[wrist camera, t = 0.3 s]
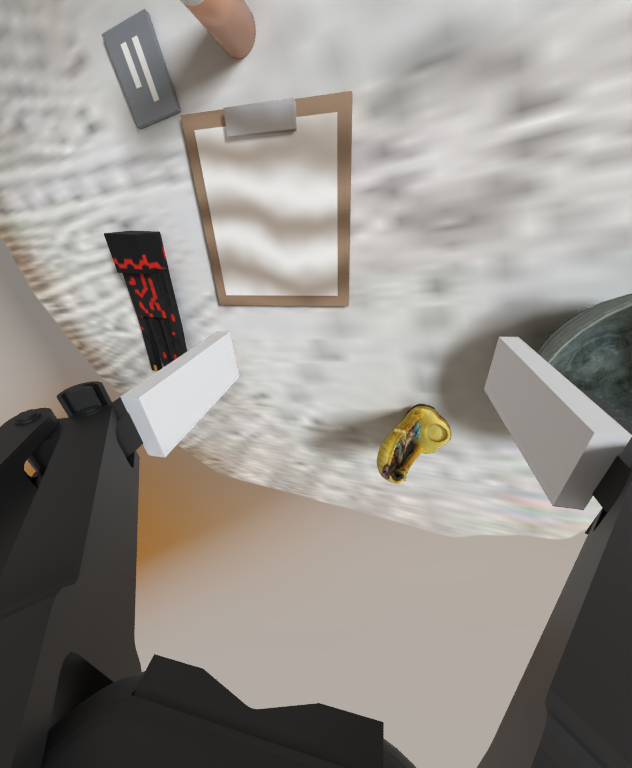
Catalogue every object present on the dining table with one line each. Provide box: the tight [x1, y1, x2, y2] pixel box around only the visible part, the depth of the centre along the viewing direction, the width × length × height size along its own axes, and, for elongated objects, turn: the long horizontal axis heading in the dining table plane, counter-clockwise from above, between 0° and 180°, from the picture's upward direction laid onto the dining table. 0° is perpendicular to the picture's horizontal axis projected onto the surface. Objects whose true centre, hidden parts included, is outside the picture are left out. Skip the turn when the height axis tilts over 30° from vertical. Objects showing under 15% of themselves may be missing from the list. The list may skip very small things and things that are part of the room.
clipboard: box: [181, 91, 352, 306], centre depth 36 cm, size 22×20×2 cm
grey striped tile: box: [102, 9, 181, 129], centre depth 32 cm, size 8×6×1 cm
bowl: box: [537, 294, 632, 423], centre depth 32 cm, size 21×21×10 cm
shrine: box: [377, 404, 451, 483], centre depth 41 cm, size 12×8×15 cm
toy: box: [104, 231, 187, 371], centre depth 47 cm, size 8×5×30 cm
